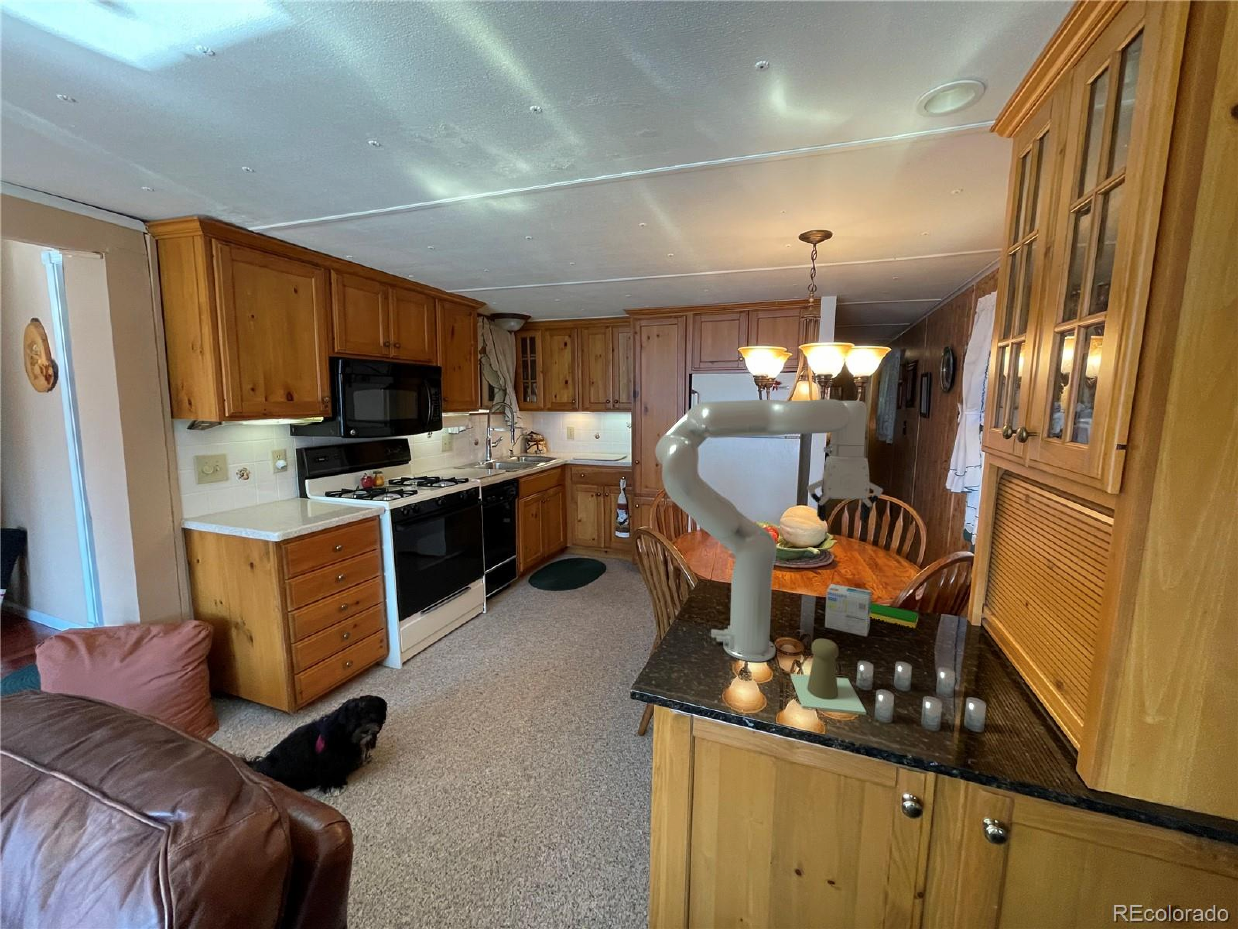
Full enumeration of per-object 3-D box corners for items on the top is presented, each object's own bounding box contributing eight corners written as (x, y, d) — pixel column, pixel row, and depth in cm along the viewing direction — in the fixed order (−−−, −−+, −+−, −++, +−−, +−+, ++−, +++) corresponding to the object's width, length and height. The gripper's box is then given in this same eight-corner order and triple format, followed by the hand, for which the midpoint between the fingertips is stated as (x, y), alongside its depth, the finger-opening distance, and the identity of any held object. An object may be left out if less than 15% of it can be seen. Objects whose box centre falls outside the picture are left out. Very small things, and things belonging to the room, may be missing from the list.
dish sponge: (864, 608, 147) (865, 601, 147) (917, 620, 139) (918, 612, 138) (859, 616, 141) (860, 608, 141) (914, 629, 133) (915, 621, 133)
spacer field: (879, 725, 92) (881, 700, 91) (853, 679, 108) (854, 658, 107) (990, 736, 89) (993, 711, 88) (946, 687, 105) (948, 665, 104)
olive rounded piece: (841, 701, 99) (844, 650, 97) (810, 698, 100) (813, 647, 98) (834, 684, 104) (836, 636, 103) (804, 681, 106) (807, 633, 104)
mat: (802, 708, 97) (802, 706, 97) (790, 676, 109) (790, 673, 109) (866, 714, 95) (866, 712, 95) (847, 681, 107) (847, 678, 107)
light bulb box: (869, 628, 133) (872, 590, 132) (867, 637, 127) (869, 598, 126) (828, 618, 139) (830, 582, 138) (823, 627, 133) (826, 590, 132)
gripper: (812, 452, 115) (809, 523, 117) (890, 454, 113) (885, 526, 115) (805, 450, 123) (802, 516, 125) (878, 451, 120) (874, 518, 122)
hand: (842, 520), depth 120 cm, fingers open, 9 cm apart
